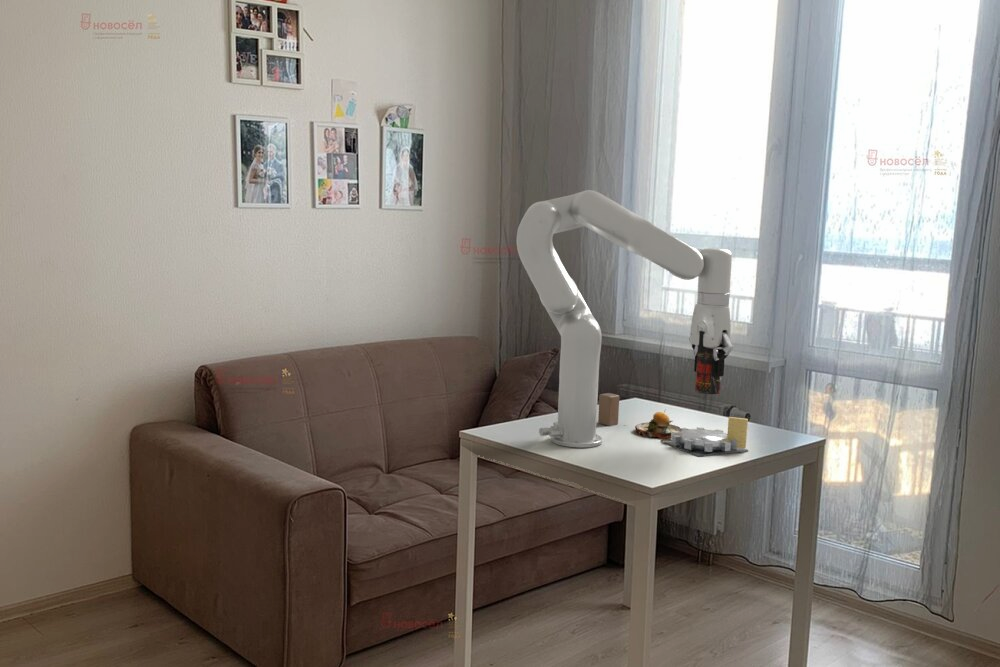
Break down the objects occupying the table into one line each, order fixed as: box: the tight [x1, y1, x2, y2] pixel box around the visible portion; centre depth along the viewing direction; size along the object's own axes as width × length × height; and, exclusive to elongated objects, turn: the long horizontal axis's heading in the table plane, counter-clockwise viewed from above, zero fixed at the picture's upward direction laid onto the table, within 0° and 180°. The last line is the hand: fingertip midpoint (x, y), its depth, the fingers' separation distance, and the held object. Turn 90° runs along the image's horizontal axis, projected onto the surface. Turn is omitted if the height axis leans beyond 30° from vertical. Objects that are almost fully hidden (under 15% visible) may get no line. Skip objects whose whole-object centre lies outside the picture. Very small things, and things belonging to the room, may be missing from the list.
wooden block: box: [597, 392, 620, 427], centre depth 246 cm, size 4×4×8 cm
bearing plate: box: [660, 438, 749, 458], centre depth 226 cm, size 16×15×1 cm
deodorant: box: [694, 331, 722, 395], centre depth 223 cm, size 6×6×15 cm
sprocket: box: [671, 416, 749, 452], centre depth 225 cm, size 18×16×7 cm
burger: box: [634, 410, 681, 440], centre depth 238 cm, size 12×12×8 cm
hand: (708, 373), depth 224 cm, fingers closed on deodorant, 5 cm apart
